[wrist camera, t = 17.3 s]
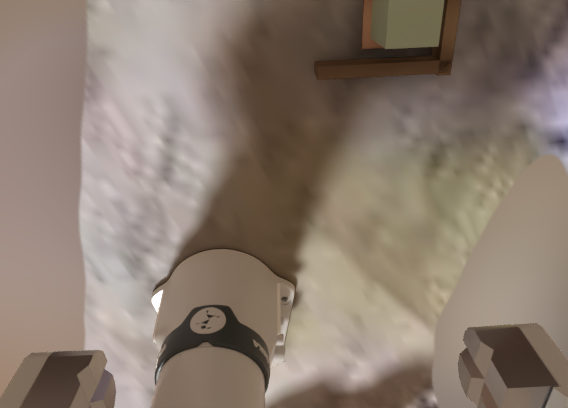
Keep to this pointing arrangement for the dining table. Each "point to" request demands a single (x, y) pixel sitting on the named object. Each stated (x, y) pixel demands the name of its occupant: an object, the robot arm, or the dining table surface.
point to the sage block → (406, 23)
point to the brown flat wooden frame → (397, 66)
